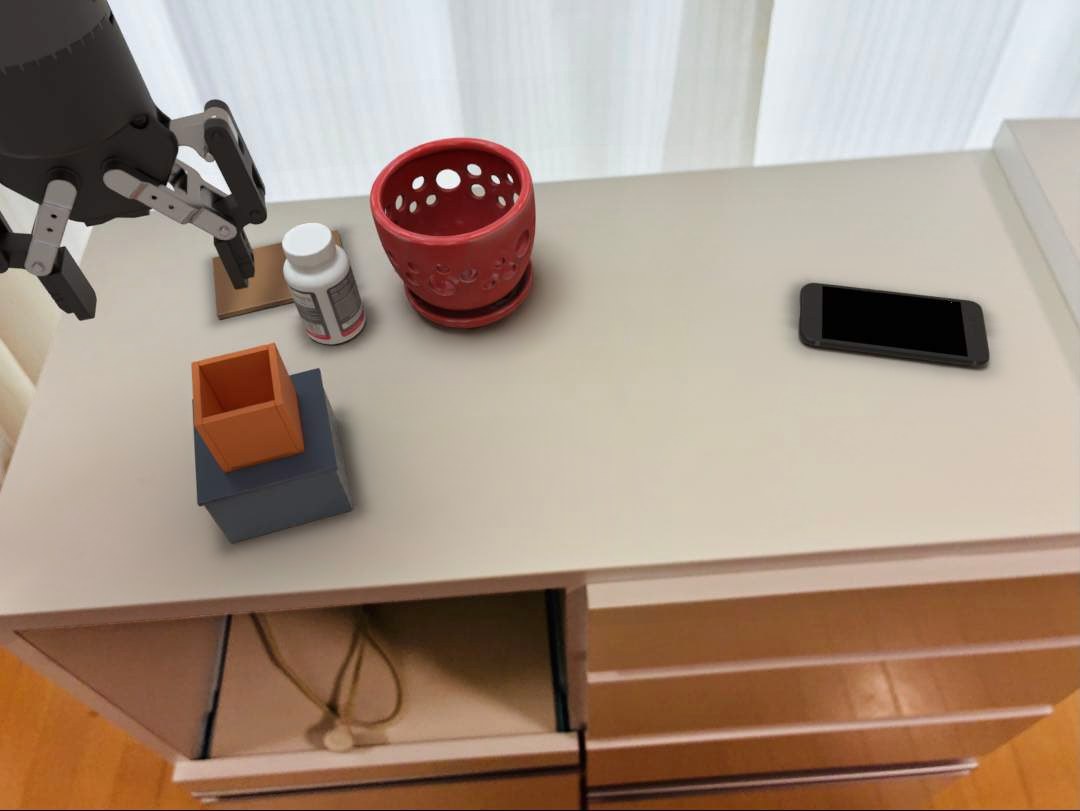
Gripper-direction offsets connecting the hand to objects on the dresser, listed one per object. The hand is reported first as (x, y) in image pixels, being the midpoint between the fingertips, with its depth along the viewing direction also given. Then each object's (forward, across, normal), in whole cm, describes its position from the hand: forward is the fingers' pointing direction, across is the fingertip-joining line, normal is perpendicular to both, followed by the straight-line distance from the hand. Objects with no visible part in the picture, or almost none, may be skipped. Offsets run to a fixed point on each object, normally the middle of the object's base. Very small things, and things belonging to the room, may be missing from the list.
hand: (167, 294), depth 47 cm
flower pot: (+20, +18, +16) cm, 32 cm away
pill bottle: (+20, +6, +15) cm, 26 cm away
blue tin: (+20, +1, 0) cm, 20 cm away
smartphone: (+20, +52, +1) cm, 56 cm away
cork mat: (+20, +2, +23) cm, 31 cm away
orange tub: (+14, +1, 0) cm, 14 cm away
